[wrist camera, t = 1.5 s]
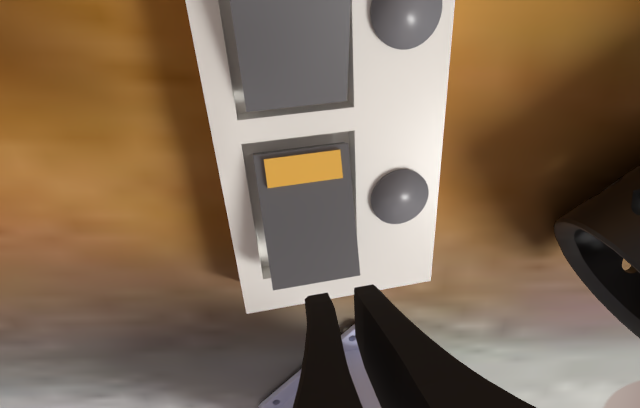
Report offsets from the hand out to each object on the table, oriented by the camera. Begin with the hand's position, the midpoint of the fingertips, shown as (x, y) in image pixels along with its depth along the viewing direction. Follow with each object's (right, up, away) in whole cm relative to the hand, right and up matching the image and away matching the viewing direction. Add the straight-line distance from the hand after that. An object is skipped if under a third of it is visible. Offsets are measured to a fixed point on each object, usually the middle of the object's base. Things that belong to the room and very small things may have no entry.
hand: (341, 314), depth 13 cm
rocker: (-1, +3, +6) cm, 6 cm away
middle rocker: (-2, +10, +2) cm, 10 cm away
